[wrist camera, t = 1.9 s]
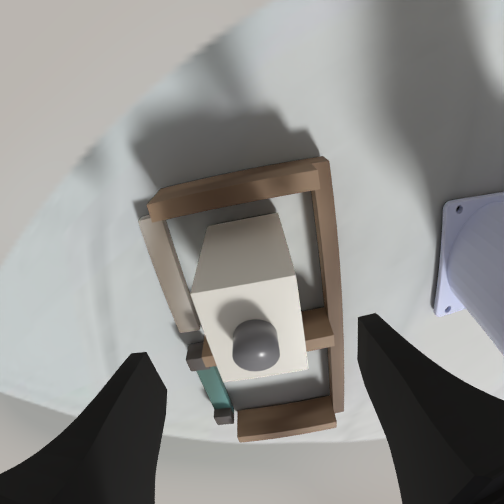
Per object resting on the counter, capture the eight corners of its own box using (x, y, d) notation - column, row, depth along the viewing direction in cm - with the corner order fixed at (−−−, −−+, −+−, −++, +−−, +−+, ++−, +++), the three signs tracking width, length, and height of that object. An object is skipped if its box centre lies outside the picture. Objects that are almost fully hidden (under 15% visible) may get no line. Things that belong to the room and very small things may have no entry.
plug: (277, 212, 16) (300, 292, 10) (290, 289, 18) (312, 387, 11) (207, 226, 16) (186, 311, 10) (228, 300, 18) (222, 401, 12)
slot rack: (322, 156, 15) (337, 166, 12) (340, 399, 22) (347, 424, 20) (134, 195, 15) (117, 212, 13) (222, 418, 23) (221, 444, 21)
